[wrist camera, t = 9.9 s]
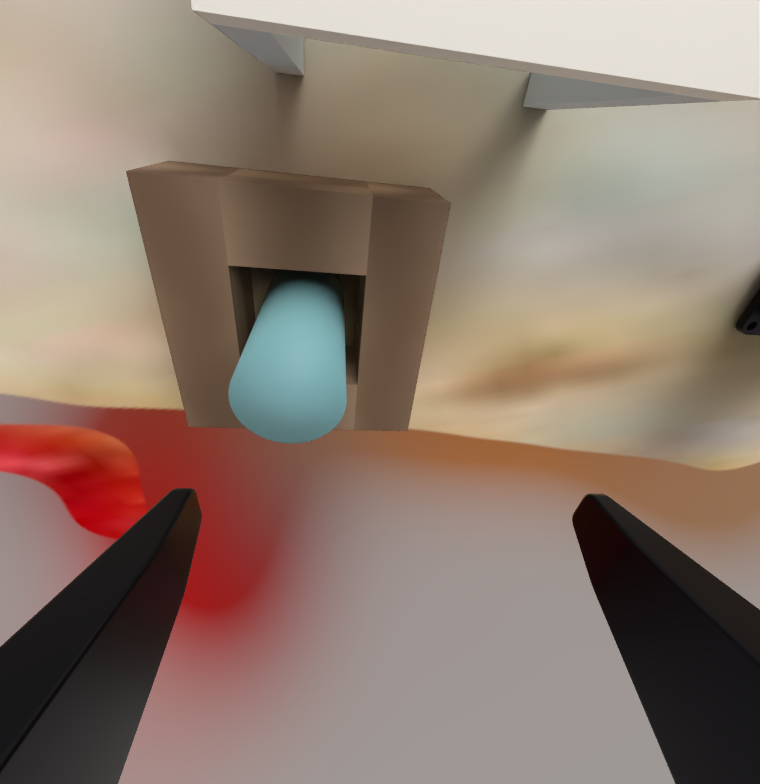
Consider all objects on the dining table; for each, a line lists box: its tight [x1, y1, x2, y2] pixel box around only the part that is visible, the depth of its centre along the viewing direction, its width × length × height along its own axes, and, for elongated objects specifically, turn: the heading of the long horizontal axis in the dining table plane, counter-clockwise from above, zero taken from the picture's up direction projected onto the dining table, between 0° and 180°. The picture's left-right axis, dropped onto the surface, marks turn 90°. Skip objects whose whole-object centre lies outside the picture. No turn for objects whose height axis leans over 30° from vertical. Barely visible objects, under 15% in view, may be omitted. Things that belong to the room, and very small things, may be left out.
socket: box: [126, 161, 450, 431], centre depth 16 cm, size 10×10×4 cm
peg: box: [228, 269, 347, 443], centre depth 14 cm, size 3×3×8 cm
